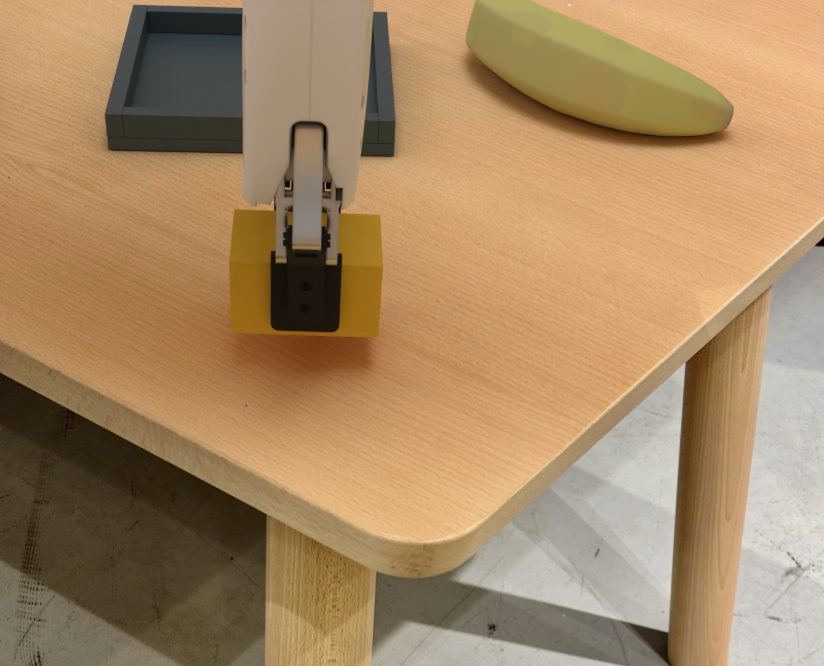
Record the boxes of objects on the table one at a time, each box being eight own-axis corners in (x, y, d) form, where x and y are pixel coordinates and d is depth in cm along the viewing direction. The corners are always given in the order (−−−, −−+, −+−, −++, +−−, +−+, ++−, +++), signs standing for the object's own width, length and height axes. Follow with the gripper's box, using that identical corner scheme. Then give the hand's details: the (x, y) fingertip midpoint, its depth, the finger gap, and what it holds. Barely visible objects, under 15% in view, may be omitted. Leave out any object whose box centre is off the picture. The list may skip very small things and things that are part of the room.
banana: (561, 38, 79) (448, -46, 95) (532, 131, 82) (426, 34, 97) (756, 79, 85) (618, -7, 100) (723, 165, 87) (594, 68, 103)
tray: (108, 150, 82) (104, 113, 80) (136, 37, 94) (133, 4, 92) (394, 156, 83) (395, 120, 82) (385, 44, 95) (387, 11, 93)
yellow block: (230, 333, 65) (228, 260, 63) (235, 279, 69) (234, 208, 66) (378, 338, 66) (383, 266, 63) (375, 284, 69) (380, 214, 66)
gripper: (229, -167, 60) (236, 203, 73) (203, -13, 48) (216, 402, 60) (400, -156, 61) (378, 209, 73) (419, -2, 49) (388, 407, 61)
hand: (305, 292), depth 67 cm, fingers closed on yellow block, 4 cm apart
